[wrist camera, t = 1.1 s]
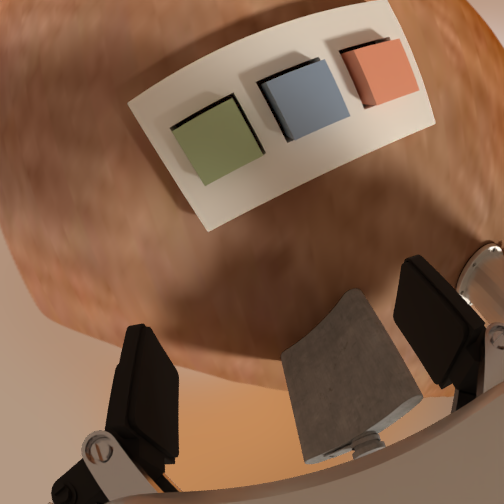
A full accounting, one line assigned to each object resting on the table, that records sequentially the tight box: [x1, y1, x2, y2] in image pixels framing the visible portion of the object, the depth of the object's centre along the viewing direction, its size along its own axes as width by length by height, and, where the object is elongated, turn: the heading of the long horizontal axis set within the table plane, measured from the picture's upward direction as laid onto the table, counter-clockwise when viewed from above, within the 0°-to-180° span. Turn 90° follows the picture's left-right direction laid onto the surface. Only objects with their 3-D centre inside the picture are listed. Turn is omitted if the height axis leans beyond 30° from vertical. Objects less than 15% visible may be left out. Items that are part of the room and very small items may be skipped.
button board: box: [127, 0, 436, 232], centre depth 23 cm, size 26×14×3 cm, turn 117°
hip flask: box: [281, 289, 423, 464], centre depth 30 cm, size 16×4×20 cm, turn 143°
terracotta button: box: [340, 39, 419, 106], centre depth 20 cm, size 5×5×3 cm
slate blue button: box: [261, 59, 350, 140], centre depth 21 cm, size 5×5×3 cm
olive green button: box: [172, 98, 263, 186], centre depth 22 cm, size 5×5×3 cm
